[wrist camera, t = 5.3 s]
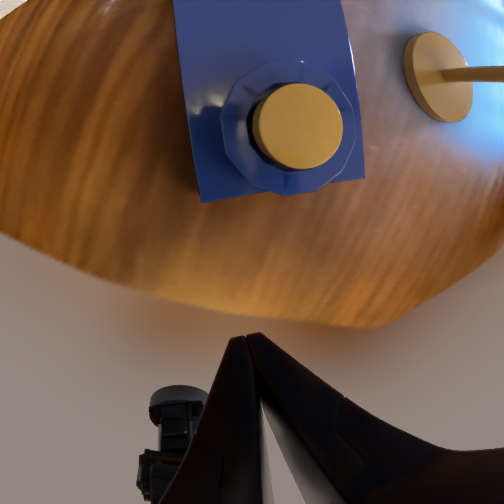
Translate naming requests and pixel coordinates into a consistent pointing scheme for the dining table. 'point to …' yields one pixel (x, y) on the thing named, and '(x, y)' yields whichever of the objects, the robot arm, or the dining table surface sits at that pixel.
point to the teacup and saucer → (9, 6)
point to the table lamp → (443, 76)
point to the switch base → (262, 88)
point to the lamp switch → (297, 126)
